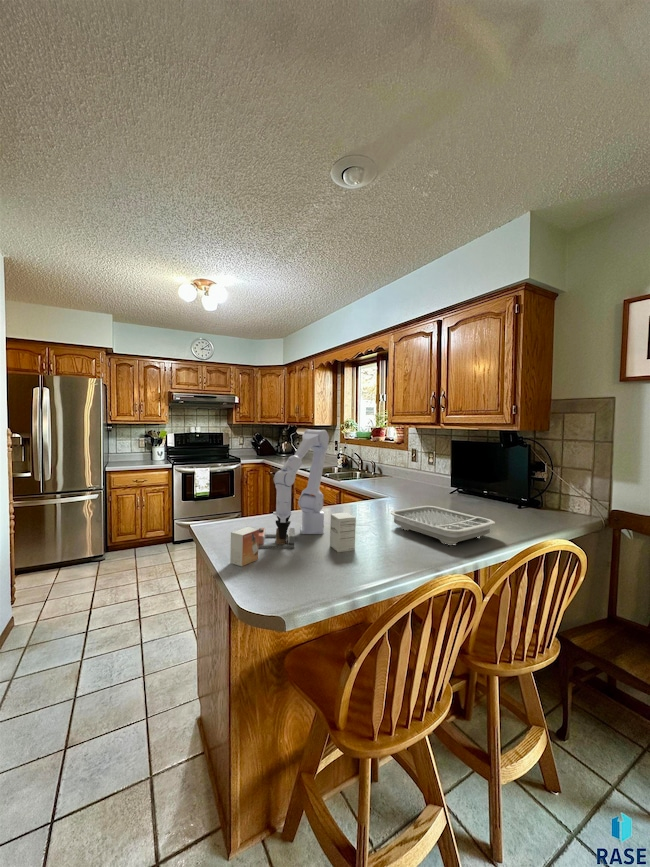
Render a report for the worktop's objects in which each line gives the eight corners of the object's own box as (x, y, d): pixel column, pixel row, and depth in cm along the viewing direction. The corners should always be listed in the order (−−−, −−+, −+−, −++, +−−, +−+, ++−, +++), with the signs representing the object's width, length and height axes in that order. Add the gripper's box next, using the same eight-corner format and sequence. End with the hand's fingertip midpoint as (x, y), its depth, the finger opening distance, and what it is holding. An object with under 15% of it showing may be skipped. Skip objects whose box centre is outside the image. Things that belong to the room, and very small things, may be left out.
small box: (241, 567, 114) (242, 535, 113) (229, 563, 117) (230, 532, 116) (258, 559, 121) (259, 529, 120) (247, 555, 124) (247, 526, 123)
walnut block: (286, 540, 140) (286, 528, 140) (286, 544, 136) (286, 531, 136) (276, 540, 139) (276, 528, 139) (275, 544, 135) (276, 531, 135)
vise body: (294, 536, 145) (294, 526, 145) (294, 548, 132) (294, 537, 132) (252, 536, 143) (252, 527, 143) (248, 548, 130) (248, 537, 130)
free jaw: (265, 537, 142) (265, 525, 142) (263, 546, 132) (263, 533, 132) (259, 537, 142) (259, 525, 142) (257, 546, 132) (257, 533, 132)
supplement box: (329, 546, 135) (330, 513, 134) (346, 543, 138) (347, 511, 137) (337, 552, 128) (338, 518, 128) (355, 550, 131) (356, 516, 131)
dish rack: (429, 518, 179) (429, 502, 178) (500, 539, 148) (500, 520, 148) (384, 527, 161) (384, 510, 160) (454, 554, 130) (455, 533, 130)
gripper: (274, 497, 144) (273, 529, 144) (272, 505, 130) (271, 542, 130) (291, 497, 145) (290, 529, 145) (291, 505, 130) (290, 541, 131)
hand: (282, 535), depth 138 cm, fingers open, 7 cm apart
